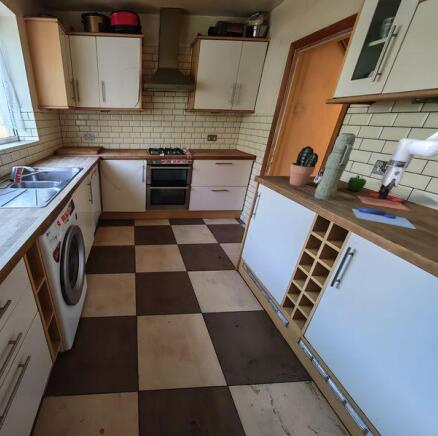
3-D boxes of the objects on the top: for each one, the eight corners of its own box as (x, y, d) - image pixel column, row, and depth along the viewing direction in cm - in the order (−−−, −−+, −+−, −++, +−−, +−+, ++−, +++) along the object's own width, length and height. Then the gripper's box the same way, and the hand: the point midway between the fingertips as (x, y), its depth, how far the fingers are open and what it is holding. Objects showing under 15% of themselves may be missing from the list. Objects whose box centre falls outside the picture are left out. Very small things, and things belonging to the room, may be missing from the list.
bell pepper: (353, 188, 149) (360, 173, 145) (364, 192, 141) (372, 177, 137) (341, 188, 149) (347, 173, 144) (352, 192, 141) (358, 176, 137)
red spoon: (400, 200, 122) (402, 196, 121) (403, 202, 118) (405, 198, 117) (367, 195, 128) (369, 191, 127) (369, 197, 125) (371, 193, 124)
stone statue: (321, 201, 125) (347, 134, 110) (309, 194, 135) (331, 132, 120) (338, 202, 124) (366, 134, 109) (324, 195, 135) (348, 132, 120)
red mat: (404, 204, 125) (404, 203, 124) (413, 212, 115) (413, 211, 114) (357, 196, 134) (357, 196, 134) (362, 203, 124) (362, 202, 123)
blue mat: (405, 219, 106) (405, 218, 106) (416, 230, 96) (417, 229, 96) (351, 209, 116) (351, 208, 115) (356, 218, 105) (356, 217, 105)
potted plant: (284, 184, 153) (295, 146, 142) (286, 180, 163) (297, 144, 152) (308, 188, 146) (322, 148, 135) (309, 183, 156) (322, 146, 145)
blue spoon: (393, 216, 108) (395, 212, 107) (396, 219, 104) (399, 215, 103) (356, 209, 114) (358, 205, 113) (358, 212, 111) (360, 208, 110)
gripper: (414, 168, 108) (394, 203, 116) (402, 162, 120) (385, 195, 128) (393, 165, 111) (375, 200, 119) (383, 160, 124) (368, 192, 132)
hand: (380, 197), depth 124 cm, fingers closed on red spoon, 2 cm apart
